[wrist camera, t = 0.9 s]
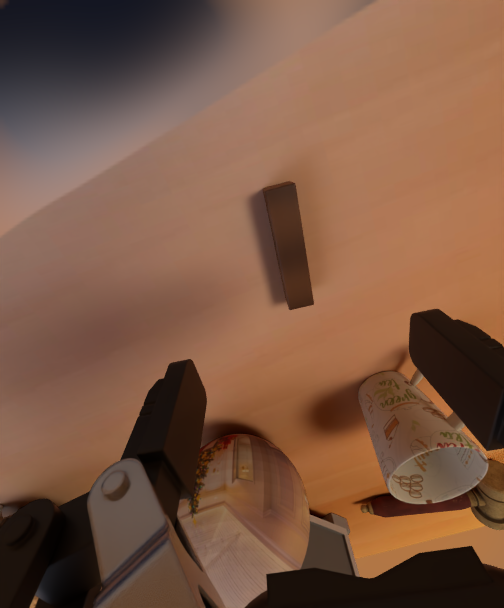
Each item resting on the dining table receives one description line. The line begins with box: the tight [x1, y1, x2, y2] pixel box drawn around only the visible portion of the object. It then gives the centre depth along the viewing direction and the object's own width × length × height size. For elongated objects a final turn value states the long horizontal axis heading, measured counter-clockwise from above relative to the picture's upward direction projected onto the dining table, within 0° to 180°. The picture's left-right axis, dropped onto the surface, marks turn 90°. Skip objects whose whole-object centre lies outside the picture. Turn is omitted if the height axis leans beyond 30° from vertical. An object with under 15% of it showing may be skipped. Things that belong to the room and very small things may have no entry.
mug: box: [358, 369, 488, 504], centre depth 26 cm, size 8×13×10 cm, turn 162°
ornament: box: [177, 434, 310, 608], centre depth 29 cm, size 15×15×15 cm
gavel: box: [361, 460, 504, 530], centre depth 40 cm, size 21×5×10 cm
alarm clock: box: [301, 513, 360, 577], centre depth 37 cm, size 18×13×18 cm
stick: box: [263, 181, 314, 310], centre depth 22 cm, size 10×2×2 cm, turn 14°
